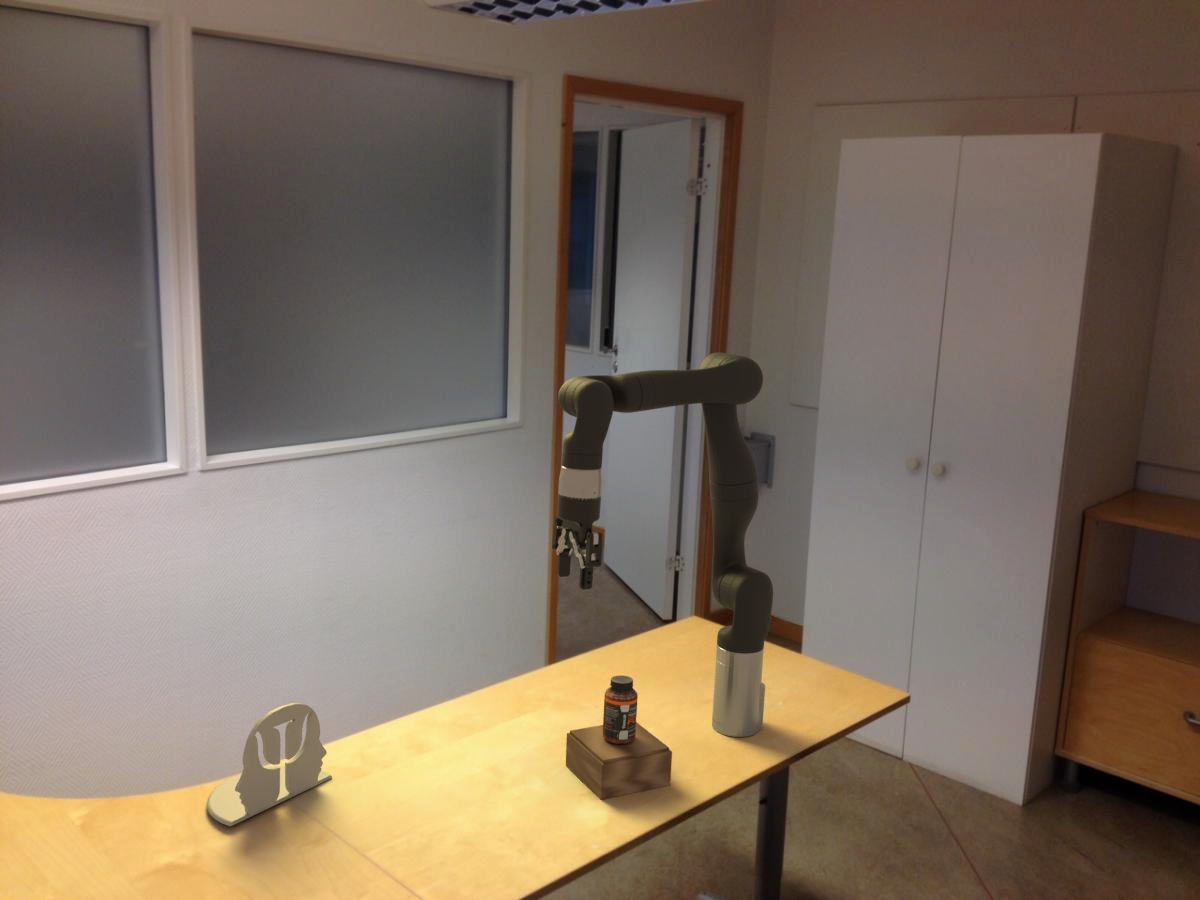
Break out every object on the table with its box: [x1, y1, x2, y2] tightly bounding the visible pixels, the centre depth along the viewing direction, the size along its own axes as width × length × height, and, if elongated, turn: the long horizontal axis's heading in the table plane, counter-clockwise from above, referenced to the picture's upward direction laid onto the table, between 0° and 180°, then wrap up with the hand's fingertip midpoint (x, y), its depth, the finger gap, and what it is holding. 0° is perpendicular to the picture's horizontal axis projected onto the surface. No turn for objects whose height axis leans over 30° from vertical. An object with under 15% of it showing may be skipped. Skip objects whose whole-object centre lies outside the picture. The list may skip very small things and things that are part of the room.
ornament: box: [206, 702, 333, 827], centre depth 189 cm, size 22×13×17 cm, turn 146°
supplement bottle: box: [602, 674, 639, 744], centre depth 199 cm, size 6×6×11 cm
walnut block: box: [565, 721, 673, 801], centre depth 200 cm, size 14×14×7 cm
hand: (574, 582), depth 196 cm, fingers open, 8 cm apart
